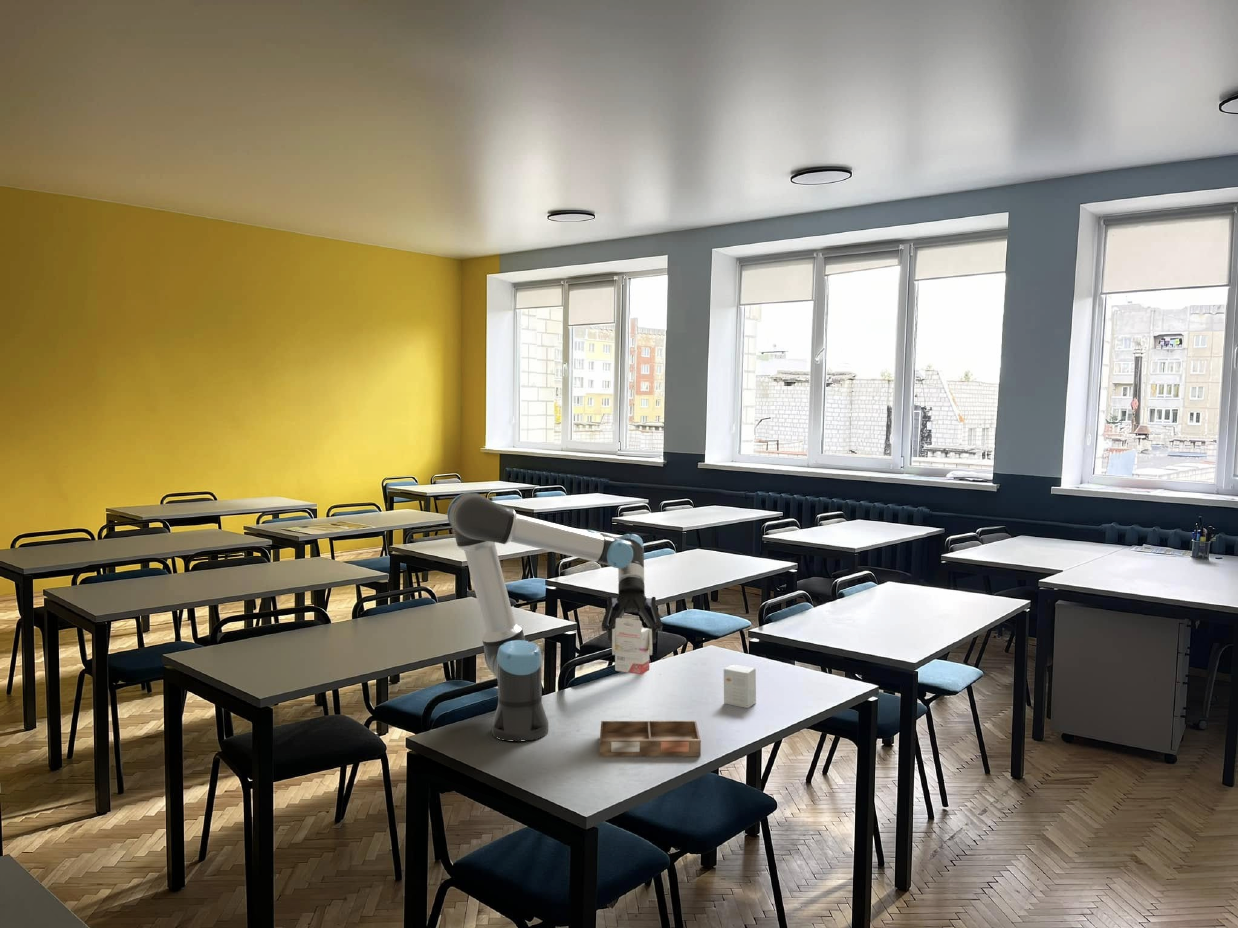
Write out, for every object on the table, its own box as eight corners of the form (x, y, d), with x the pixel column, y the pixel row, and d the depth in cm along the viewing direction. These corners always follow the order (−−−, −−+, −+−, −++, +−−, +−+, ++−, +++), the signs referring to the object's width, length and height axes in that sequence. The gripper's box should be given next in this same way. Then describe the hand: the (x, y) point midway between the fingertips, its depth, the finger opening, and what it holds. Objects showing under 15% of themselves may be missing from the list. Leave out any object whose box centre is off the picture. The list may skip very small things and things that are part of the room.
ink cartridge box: (650, 670, 231) (650, 617, 230) (642, 675, 226) (642, 621, 225) (622, 665, 234) (622, 613, 234) (614, 670, 230) (614, 617, 229)
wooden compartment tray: (599, 756, 208) (599, 741, 208) (601, 735, 222) (601, 720, 222) (700, 756, 208) (700, 740, 208) (696, 735, 222) (695, 720, 222)
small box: (756, 703, 247) (756, 668, 246) (748, 708, 242) (748, 672, 242) (731, 698, 251) (731, 663, 251) (723, 703, 247) (723, 668, 246)
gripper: (669, 589, 244) (672, 659, 230) (593, 590, 245) (591, 659, 230) (670, 575, 239) (673, 645, 224) (592, 575, 239) (591, 645, 224)
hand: (632, 652), depth 227 cm, fingers closed on ink cartridge box, 9 cm apart
